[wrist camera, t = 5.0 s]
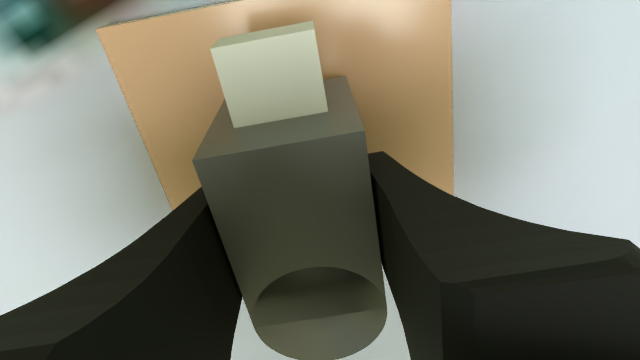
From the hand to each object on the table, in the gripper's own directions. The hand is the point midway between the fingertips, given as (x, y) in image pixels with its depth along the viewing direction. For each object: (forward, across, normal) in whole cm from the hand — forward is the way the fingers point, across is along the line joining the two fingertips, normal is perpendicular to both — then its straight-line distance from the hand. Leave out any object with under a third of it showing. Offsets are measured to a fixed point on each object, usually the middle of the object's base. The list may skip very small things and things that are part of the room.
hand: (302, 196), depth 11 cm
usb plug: (+2, 0, 0) cm, 2 cm away
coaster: (+3, 0, 0) cm, 3 cm away
